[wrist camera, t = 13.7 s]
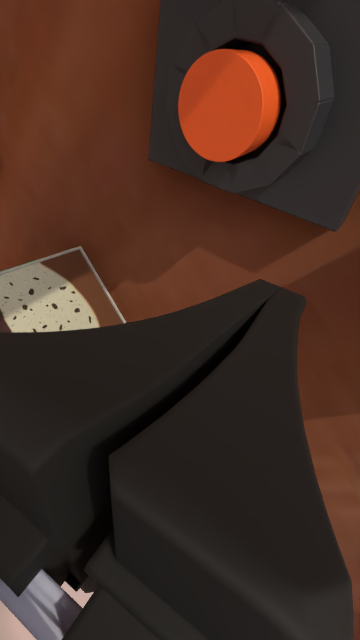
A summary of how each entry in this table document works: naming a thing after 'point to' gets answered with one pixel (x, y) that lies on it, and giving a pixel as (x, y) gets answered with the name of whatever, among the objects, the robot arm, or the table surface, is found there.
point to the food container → (55, 295)
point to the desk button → (228, 104)
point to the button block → (296, 100)
